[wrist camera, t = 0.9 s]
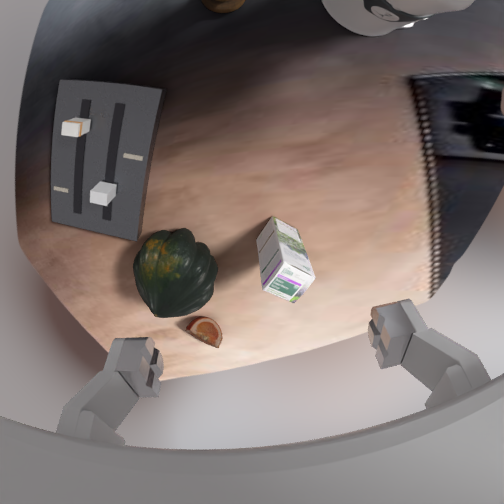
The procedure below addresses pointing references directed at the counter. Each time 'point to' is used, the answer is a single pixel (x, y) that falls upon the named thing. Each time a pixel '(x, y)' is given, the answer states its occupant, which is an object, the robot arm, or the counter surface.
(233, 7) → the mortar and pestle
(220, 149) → the counter surface
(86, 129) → the block
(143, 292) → the squash
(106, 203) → the block
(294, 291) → the syrup box
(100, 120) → the console
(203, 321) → the fruit slice
